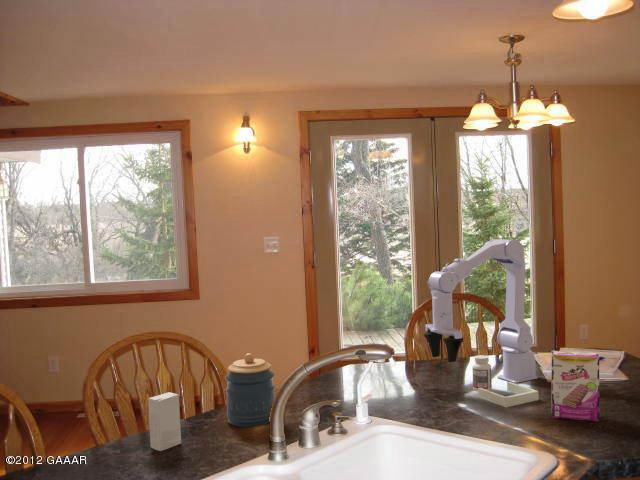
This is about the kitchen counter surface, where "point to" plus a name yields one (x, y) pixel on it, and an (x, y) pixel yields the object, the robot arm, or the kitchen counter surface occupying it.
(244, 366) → the canister
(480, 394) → the u-shaped bracket
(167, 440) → the skincare box
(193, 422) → the kitchen counter surface
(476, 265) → the robot arm
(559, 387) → the candy bar box
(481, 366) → the pill bottle
